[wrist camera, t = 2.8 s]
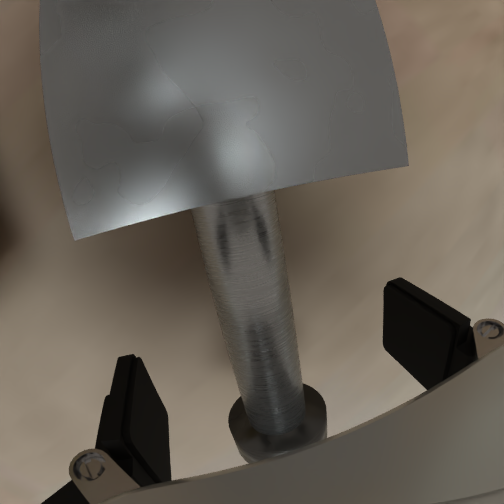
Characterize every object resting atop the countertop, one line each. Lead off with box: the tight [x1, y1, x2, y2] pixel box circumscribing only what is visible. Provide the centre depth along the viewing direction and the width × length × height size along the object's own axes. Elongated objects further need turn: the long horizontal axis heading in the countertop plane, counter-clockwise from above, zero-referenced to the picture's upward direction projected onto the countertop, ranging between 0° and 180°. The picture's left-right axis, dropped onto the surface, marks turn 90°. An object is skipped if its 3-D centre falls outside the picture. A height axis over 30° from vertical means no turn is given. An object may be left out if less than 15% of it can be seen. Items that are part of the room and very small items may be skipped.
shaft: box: [191, 190, 327, 464], centre depth 10 cm, size 28×5×5 cm, turn 10°
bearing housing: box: [39, 0, 409, 241], centre depth 11 cm, size 8×11×11 cm
